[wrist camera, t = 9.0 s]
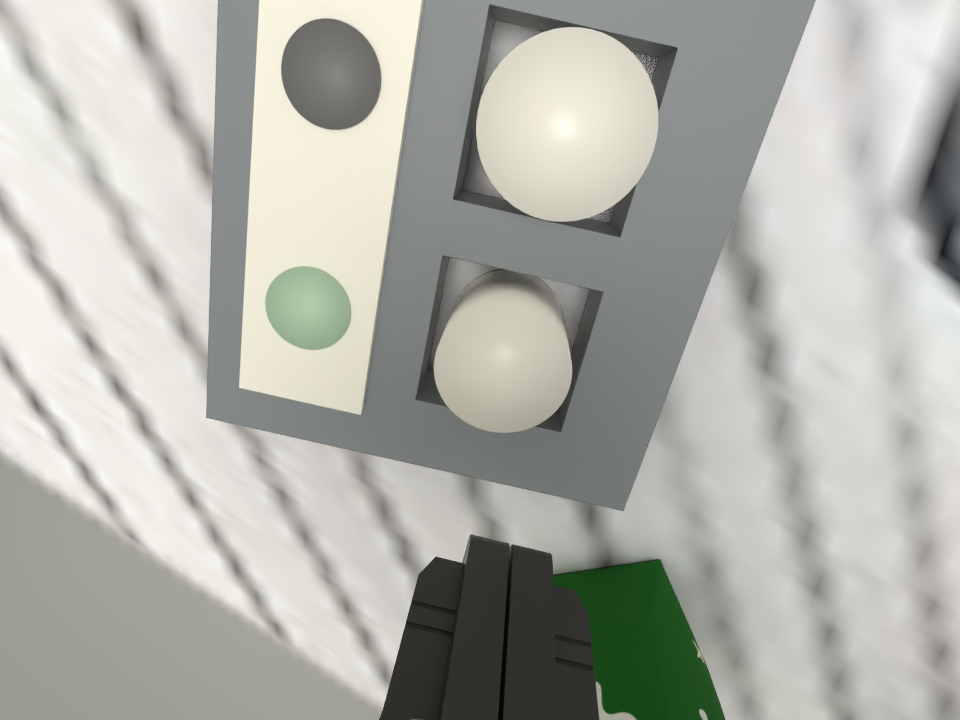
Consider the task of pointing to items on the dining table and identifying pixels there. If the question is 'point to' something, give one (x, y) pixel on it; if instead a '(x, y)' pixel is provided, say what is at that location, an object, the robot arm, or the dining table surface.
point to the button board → (523, 237)
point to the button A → (504, 353)
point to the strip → (323, 192)
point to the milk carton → (642, 646)
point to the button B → (567, 124)
